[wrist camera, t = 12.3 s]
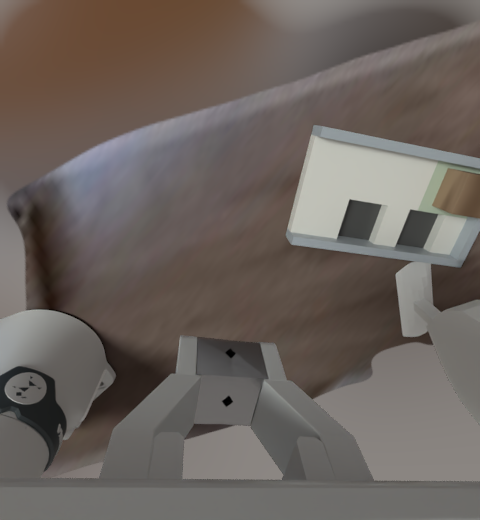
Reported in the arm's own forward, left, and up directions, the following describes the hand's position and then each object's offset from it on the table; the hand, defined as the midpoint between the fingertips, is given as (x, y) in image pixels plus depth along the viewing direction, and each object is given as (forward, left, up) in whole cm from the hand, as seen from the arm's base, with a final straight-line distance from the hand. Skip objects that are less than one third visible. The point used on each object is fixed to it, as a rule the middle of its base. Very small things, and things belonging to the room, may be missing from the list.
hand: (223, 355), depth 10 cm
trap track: (+10, -19, -29) cm, 36 cm away
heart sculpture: (+2, -34, -29) cm, 45 cm away
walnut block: (+16, -25, -28) cm, 40 cm away
